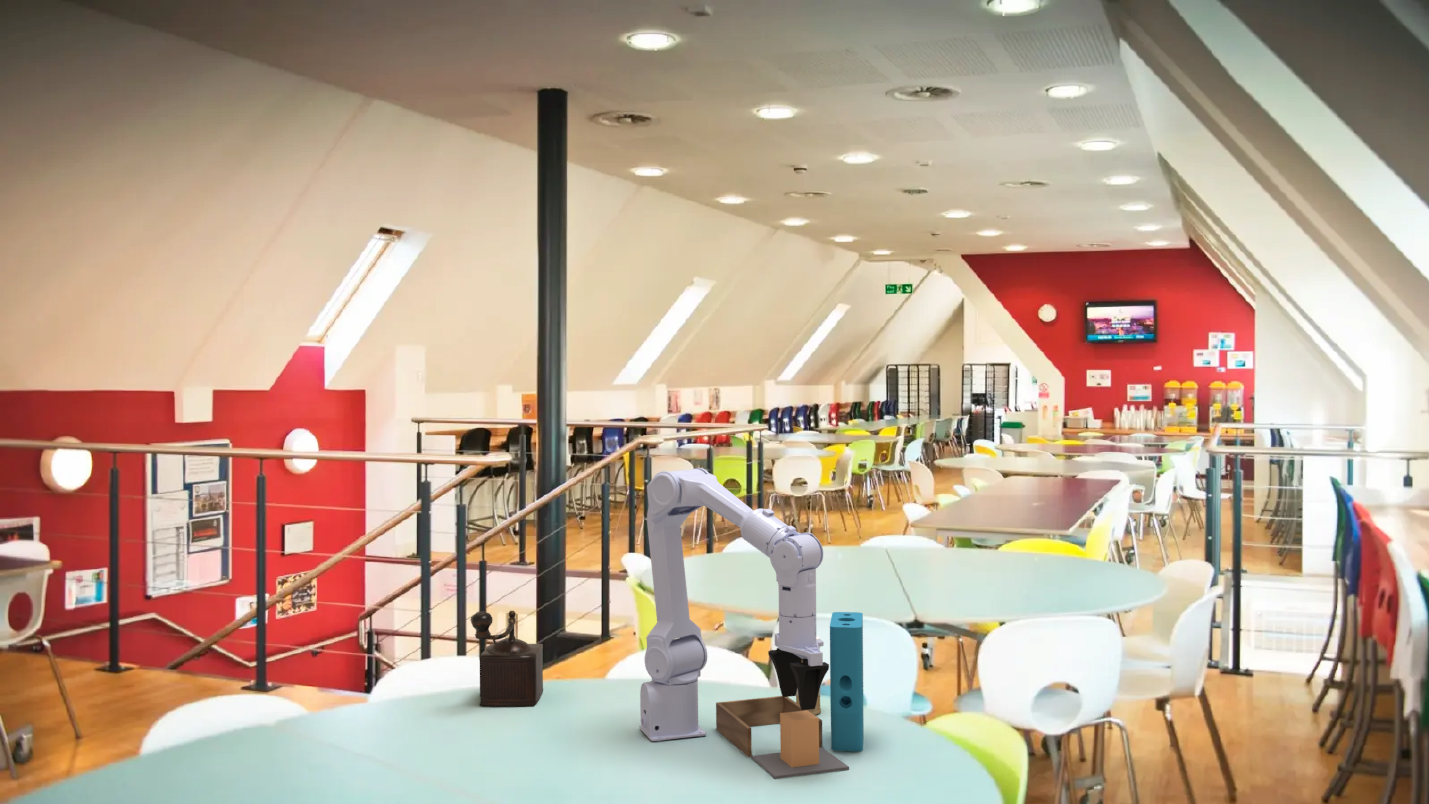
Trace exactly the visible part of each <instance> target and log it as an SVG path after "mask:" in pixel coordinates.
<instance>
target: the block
mask: <svg viewBox="0 0 1429 804" xmlns="http://www.w3.org/2000/svg"><path fill="white" fill-rule="evenodd" d="M863 619H864V617H863V612H858V611H856V612H855V611H854V612H852V611H851V612H849V611H839V612H838V611H834V612H832V613H831V618H830V621H829V622H830V623H829V674H830V675H829V676H830V679H829V681H830V683H829V684H830V685H829V686H830V687H829V690H830V695H829V698H830V744H831V745H830V746H831V749H830V750H832V751H835V752H853V753H854V752H858V753H859V752H862V751H863V750H864V737H865V736H864V732H865V731H864V730H865V729H864V634H863V633H864V630H863V629H864V628H863V627H864V622H863V621H864V620H863Z"/></svg>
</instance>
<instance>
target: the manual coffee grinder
mask: <svg viewBox="0 0 1429 804" xmlns="http://www.w3.org/2000/svg"><path fill="white" fill-rule="evenodd" d="M508 617H509V618H508V619H507V623H508V625H507V627H506V630H505V631H504V632H502V633H500V634H494V635H493V634H492V633H491V632H490V629H489V628H490V626H491V625H492V624H493V621H494V620H493V616H492V615H491V613H489V612H486V611H483V610H482V611H478V612H476V613H475V614H473V615H472V616H471V617H470V624H471V625H472V627H473V629H475V634H474V636H475V639H476V640H491V641H492V642H493V643H490V644H489V645H487V646H486V647H485V649H484V651H483V652H481V653H480V655H479V657H478V659H479V698H480V699H479V701H480V702H479V706H480V707H487V708H488V707H489V708H529V707H531V708H532V707H533V708H534V707H535V706H537V705H538V703H539V701H540V699H541V698H542V696H543V694H544V681H543V680H544V676H543V675H544V673H543V671H544V669H543V666H544V665H543V664H544V660H543V657H544V655H543V649H544V645H543V643H528V642H526V641H524V640H522V639H519V638H516V636H515V624H516V623H517V621H516V619H517V618H516V612H515V611H514V610H509V612H508ZM508 635H509V636H508ZM507 636H508V637H507ZM496 640H497V641H496Z"/></svg>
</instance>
